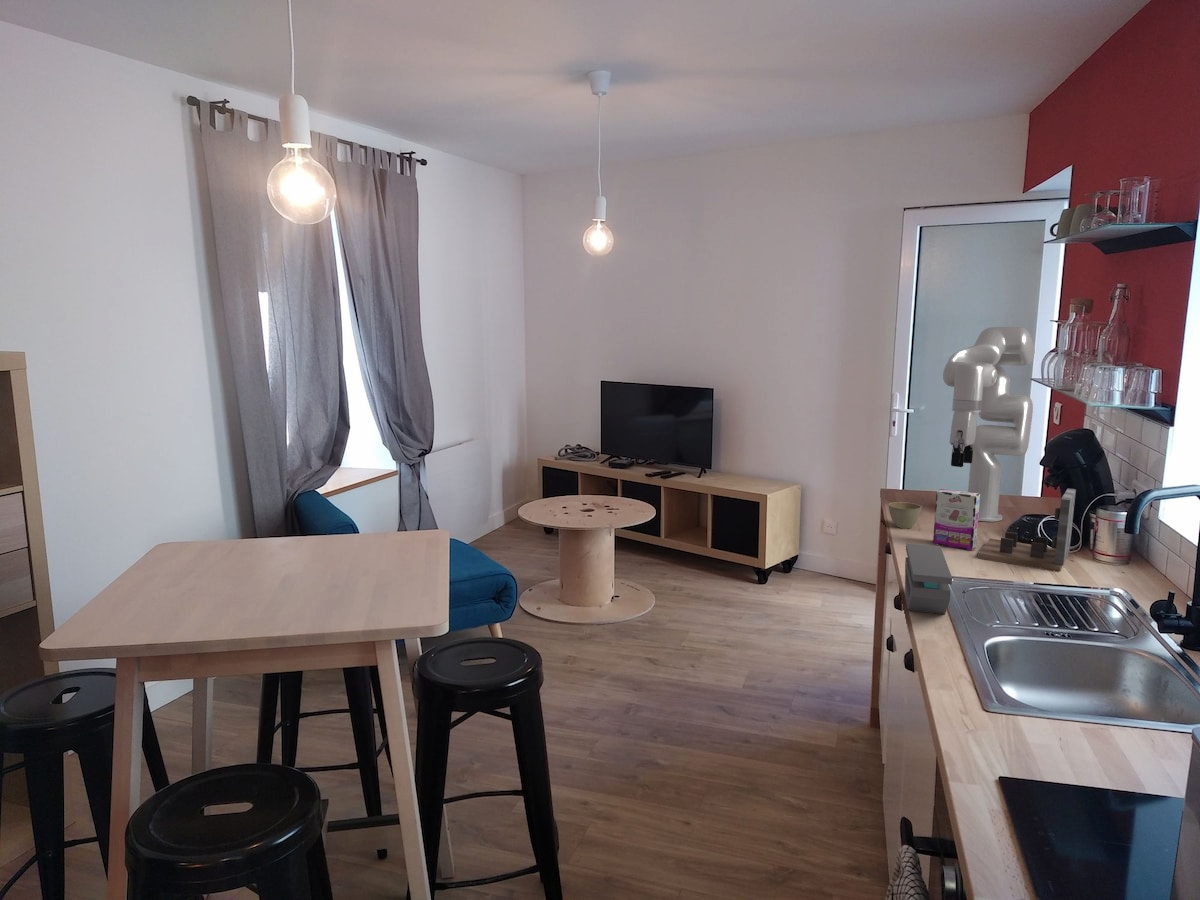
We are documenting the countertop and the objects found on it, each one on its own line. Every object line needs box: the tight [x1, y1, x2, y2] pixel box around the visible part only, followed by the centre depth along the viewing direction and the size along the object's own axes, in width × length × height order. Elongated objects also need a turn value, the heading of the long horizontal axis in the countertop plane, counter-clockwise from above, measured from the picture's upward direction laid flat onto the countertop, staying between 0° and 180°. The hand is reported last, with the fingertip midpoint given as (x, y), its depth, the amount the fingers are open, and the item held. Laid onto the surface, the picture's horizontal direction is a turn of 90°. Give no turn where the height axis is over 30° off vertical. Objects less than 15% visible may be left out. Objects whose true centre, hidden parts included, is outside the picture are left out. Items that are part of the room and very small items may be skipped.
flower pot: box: [888, 501, 923, 529], centre depth 247 cm, size 10×10×7 cm
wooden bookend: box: [977, 487, 1077, 572], centre depth 214 cm, size 18×20×20 cm
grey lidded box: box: [904, 543, 953, 615], centre depth 179 cm, size 25×8×11 cm, turn 162°
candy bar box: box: [932, 488, 980, 551], centre depth 225 cm, size 11×5×16 cm, turn 51°
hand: (961, 464), depth 223 cm, fingers open, 9 cm apart
